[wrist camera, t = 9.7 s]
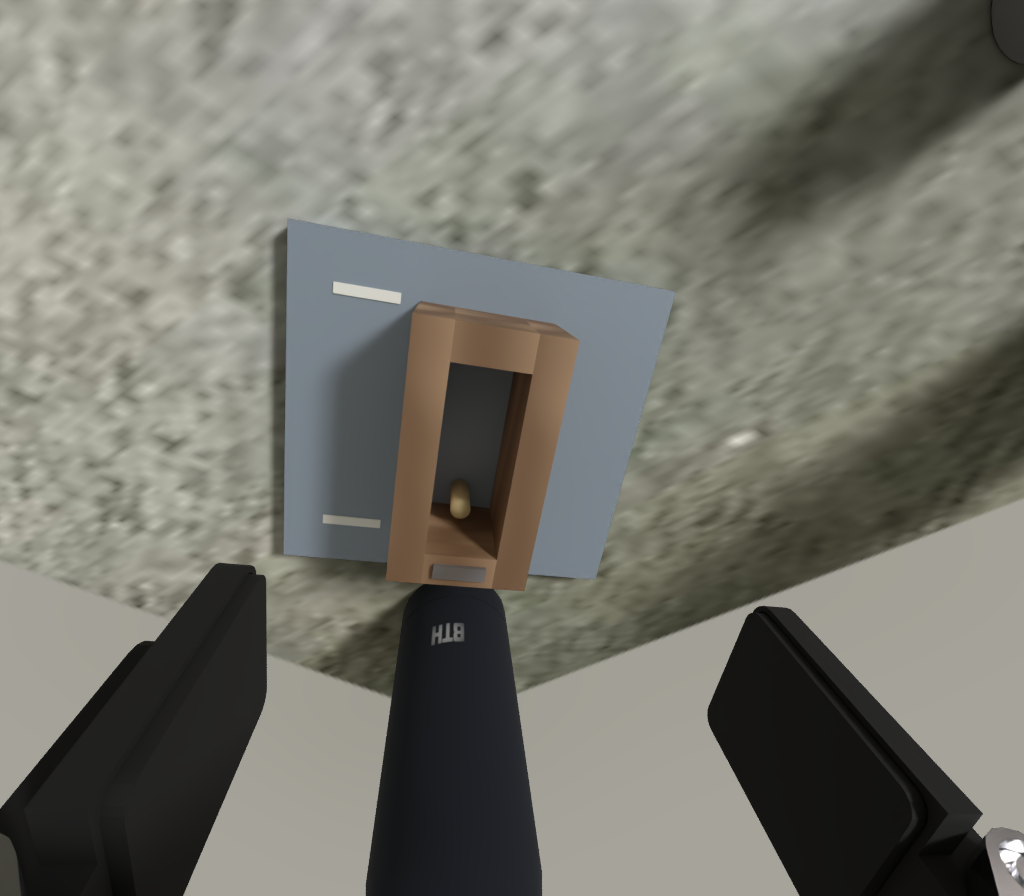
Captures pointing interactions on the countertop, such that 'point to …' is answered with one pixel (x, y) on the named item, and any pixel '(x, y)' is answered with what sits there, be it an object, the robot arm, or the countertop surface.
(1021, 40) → the bottle
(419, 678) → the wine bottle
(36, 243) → the countertop surface
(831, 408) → the countertop surface
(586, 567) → the board
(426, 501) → the frame
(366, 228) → the countertop surface
